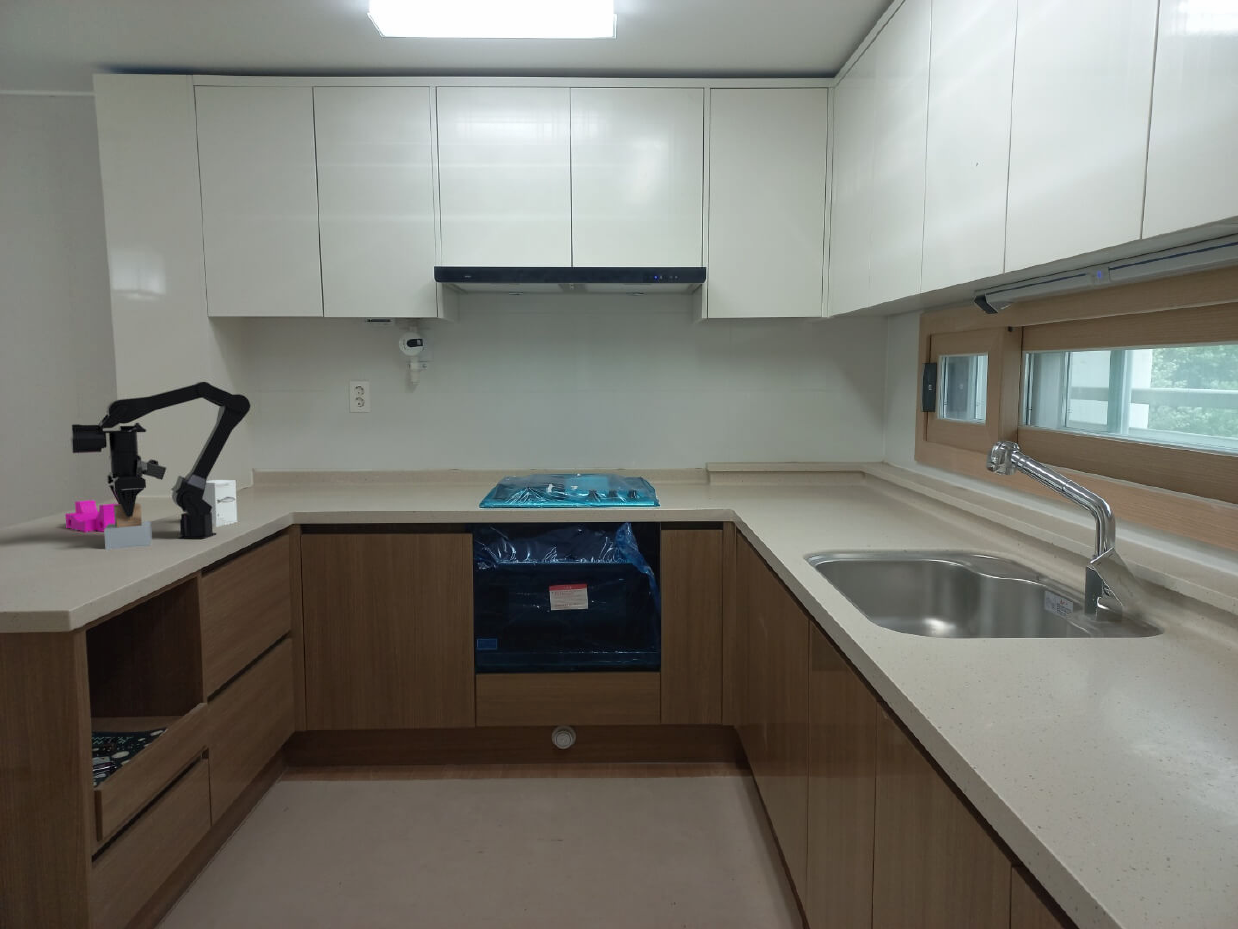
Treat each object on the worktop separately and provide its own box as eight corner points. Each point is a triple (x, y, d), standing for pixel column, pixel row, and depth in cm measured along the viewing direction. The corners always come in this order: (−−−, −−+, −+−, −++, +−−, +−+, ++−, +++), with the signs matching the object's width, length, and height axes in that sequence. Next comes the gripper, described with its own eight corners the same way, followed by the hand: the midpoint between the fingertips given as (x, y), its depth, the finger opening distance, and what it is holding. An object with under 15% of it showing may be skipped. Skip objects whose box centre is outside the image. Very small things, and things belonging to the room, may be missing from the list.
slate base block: (152, 540, 191) (151, 521, 191) (150, 546, 184) (148, 526, 183) (109, 543, 187) (108, 523, 187) (105, 550, 179) (104, 529, 179)
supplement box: (216, 528, 207) (214, 482, 206) (196, 526, 210) (193, 481, 208) (238, 524, 214) (236, 480, 213) (218, 522, 216) (216, 479, 215)
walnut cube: (139, 522, 188) (137, 502, 188) (141, 525, 184) (140, 505, 184) (115, 525, 185) (113, 504, 185) (117, 527, 181) (116, 507, 181)
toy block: (66, 530, 206) (64, 502, 205) (91, 526, 211) (90, 500, 210) (94, 535, 198) (92, 506, 198) (120, 531, 204) (118, 503, 203)
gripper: (168, 452, 181) (172, 516, 182) (156, 447, 195) (160, 507, 197) (113, 454, 174) (117, 521, 176) (104, 449, 189) (108, 511, 190)
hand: (127, 514), depth 185 cm, fingers open, 6 cm apart
